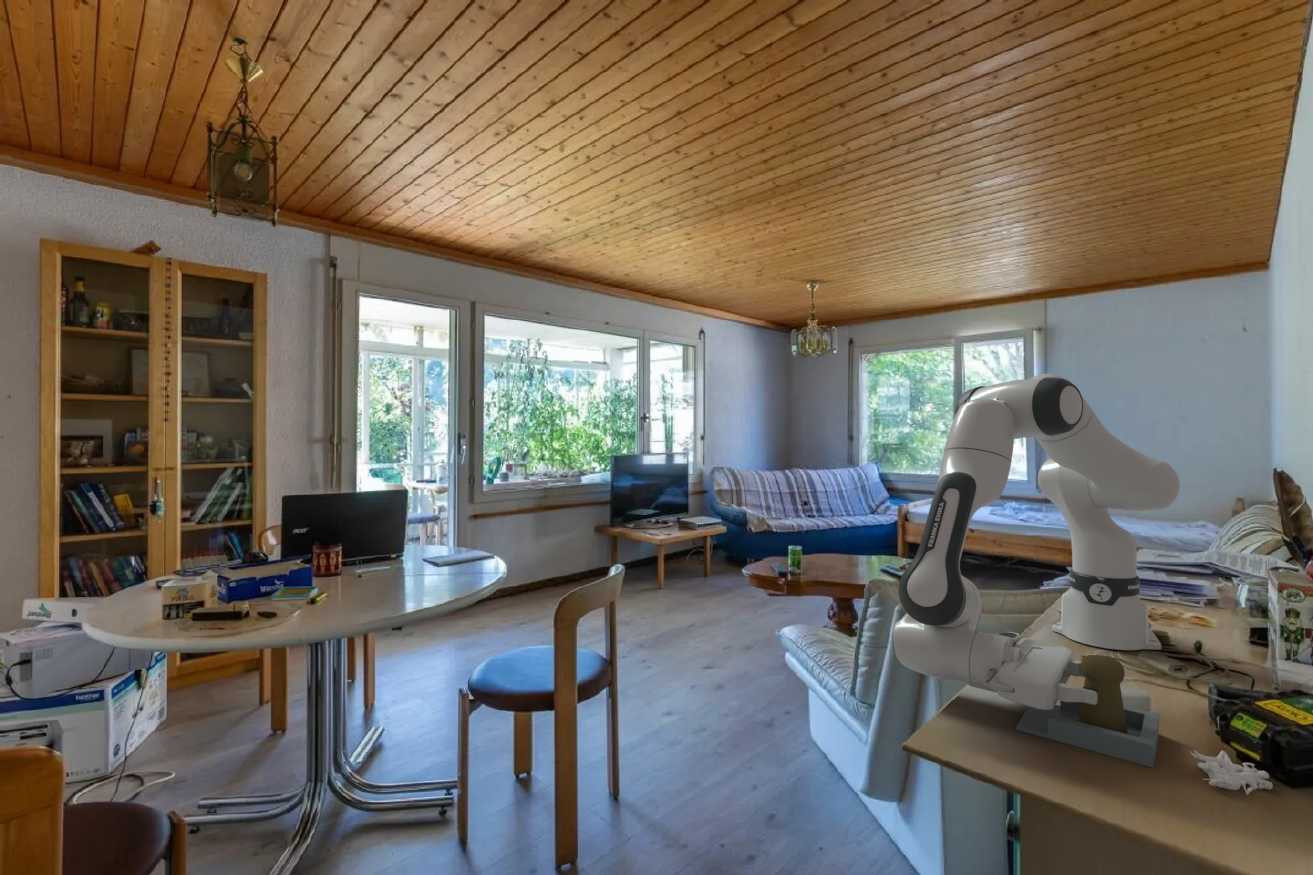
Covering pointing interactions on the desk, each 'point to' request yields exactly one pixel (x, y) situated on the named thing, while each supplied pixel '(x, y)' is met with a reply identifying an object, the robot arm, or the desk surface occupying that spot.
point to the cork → (1104, 693)
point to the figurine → (1232, 773)
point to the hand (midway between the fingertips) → (1102, 686)
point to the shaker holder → (1096, 732)
